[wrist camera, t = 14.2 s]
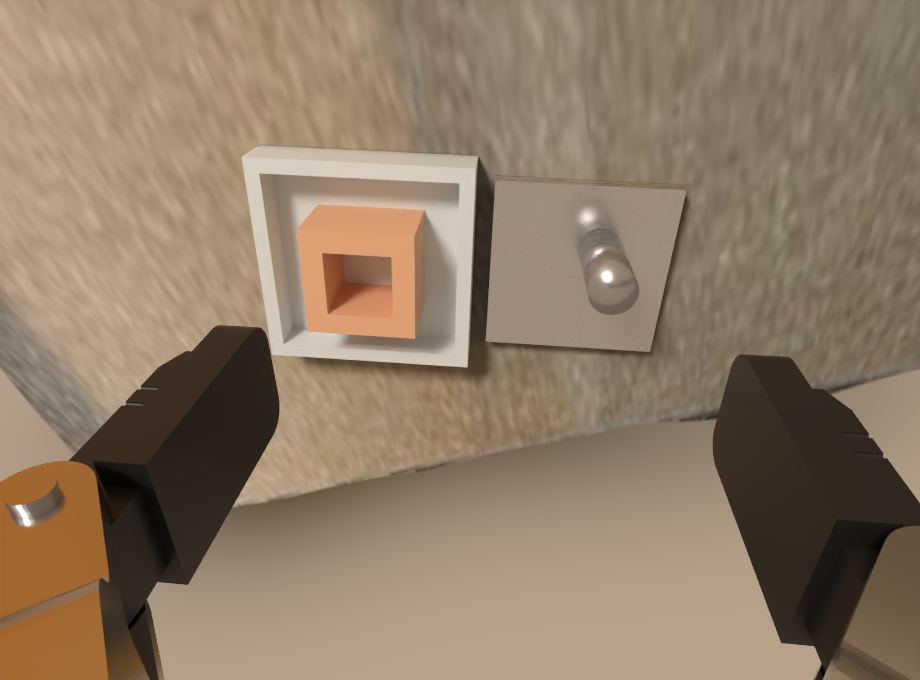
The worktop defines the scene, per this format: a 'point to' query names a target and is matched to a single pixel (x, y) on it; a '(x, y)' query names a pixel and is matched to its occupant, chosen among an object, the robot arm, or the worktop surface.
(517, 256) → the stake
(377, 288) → the ring
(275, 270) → the tray
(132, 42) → the worktop surface
